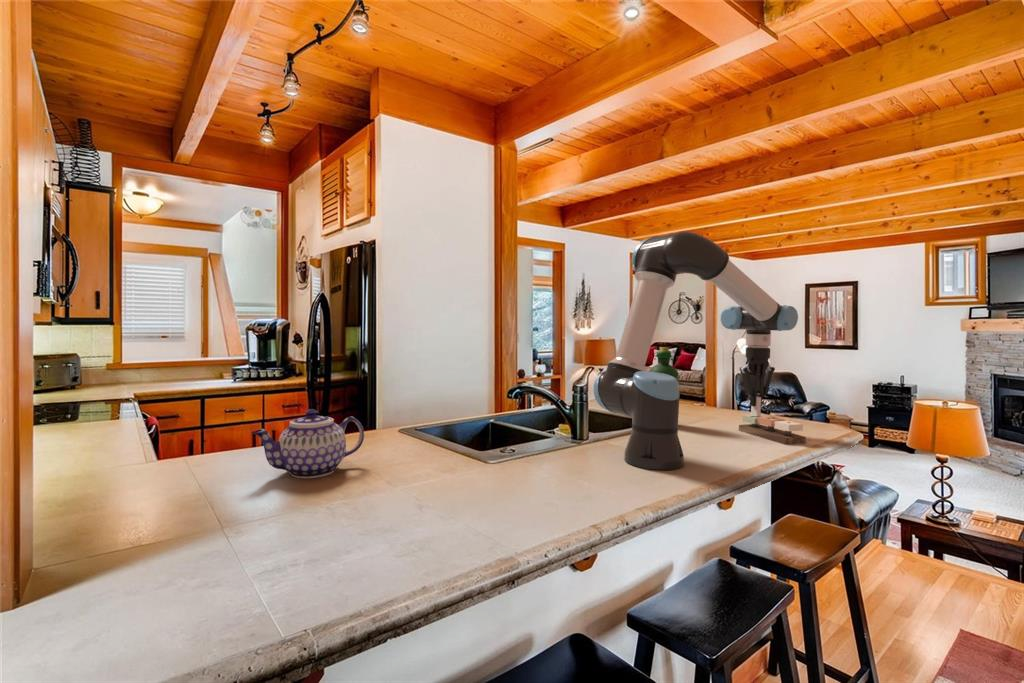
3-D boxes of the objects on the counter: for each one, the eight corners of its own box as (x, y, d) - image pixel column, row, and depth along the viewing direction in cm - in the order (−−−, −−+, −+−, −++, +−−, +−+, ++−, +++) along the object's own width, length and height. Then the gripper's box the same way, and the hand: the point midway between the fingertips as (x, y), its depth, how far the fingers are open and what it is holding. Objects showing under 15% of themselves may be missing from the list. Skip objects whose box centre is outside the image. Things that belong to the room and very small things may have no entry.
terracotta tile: (770, 433, 161) (771, 420, 161) (757, 429, 166) (758, 416, 166) (784, 432, 163) (784, 419, 162) (771, 428, 168) (771, 416, 168)
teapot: (354, 456, 132) (355, 400, 132) (374, 471, 120) (375, 409, 119) (248, 471, 118) (248, 408, 117) (258, 490, 105) (258, 420, 105)
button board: (785, 444, 154) (785, 438, 154) (738, 430, 173) (738, 424, 173) (805, 443, 156) (806, 436, 156) (757, 429, 175) (757, 423, 175)
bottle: (673, 422, 186) (676, 346, 184) (680, 428, 175) (683, 348, 174) (644, 421, 187) (646, 346, 185) (649, 427, 176) (651, 347, 175)
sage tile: (754, 430, 168) (754, 418, 168) (742, 427, 173) (742, 415, 173) (767, 430, 169) (768, 417, 169) (755, 426, 175) (755, 414, 174)
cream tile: (788, 438, 154) (788, 424, 154) (774, 434, 160) (774, 421, 159) (802, 437, 156) (802, 423, 156) (788, 433, 161) (788, 420, 161)
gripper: (750, 347, 165) (747, 418, 166) (782, 347, 168) (779, 416, 169) (734, 346, 172) (731, 414, 173) (765, 346, 175) (762, 412, 177)
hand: (755, 415), depth 171 cm, fingers closed
